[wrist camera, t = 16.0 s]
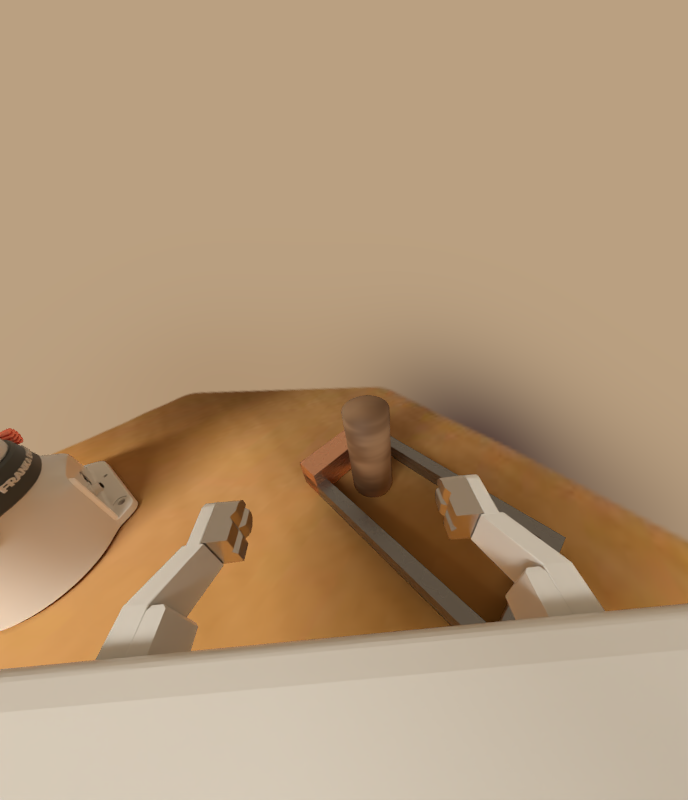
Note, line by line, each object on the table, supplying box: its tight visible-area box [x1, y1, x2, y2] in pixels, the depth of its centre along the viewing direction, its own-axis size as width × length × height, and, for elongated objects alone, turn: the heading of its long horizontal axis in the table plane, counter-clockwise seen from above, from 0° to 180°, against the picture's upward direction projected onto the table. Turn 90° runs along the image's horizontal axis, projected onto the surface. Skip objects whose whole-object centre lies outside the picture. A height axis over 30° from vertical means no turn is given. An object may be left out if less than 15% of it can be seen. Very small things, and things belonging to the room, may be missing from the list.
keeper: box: [341, 395, 392, 497], centre depth 30 cm, size 5×5×12 cm
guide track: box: [300, 430, 565, 626], centre depth 29 cm, size 25×12×4 cm, turn 43°
